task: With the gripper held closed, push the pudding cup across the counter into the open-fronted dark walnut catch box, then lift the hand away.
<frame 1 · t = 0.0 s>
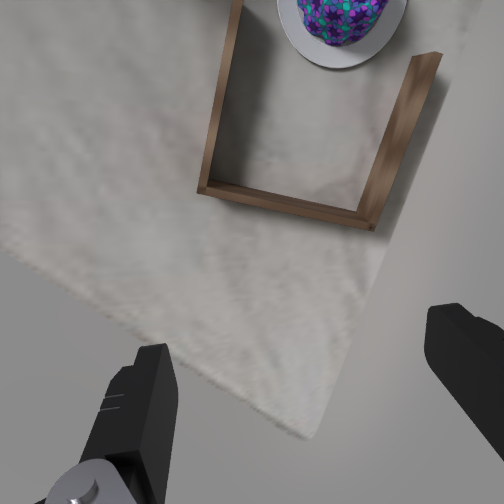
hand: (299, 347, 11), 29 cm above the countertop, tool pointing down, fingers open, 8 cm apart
catch box: (305, 119, 36), on the countertop
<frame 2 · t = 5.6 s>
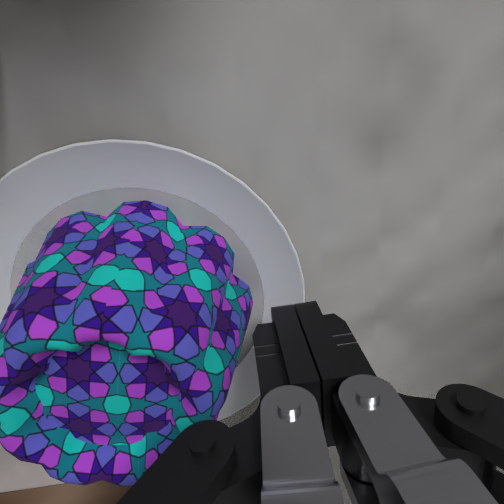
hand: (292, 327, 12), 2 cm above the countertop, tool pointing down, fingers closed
pudding: (144, 301, 14), on the countertop, touching gripper
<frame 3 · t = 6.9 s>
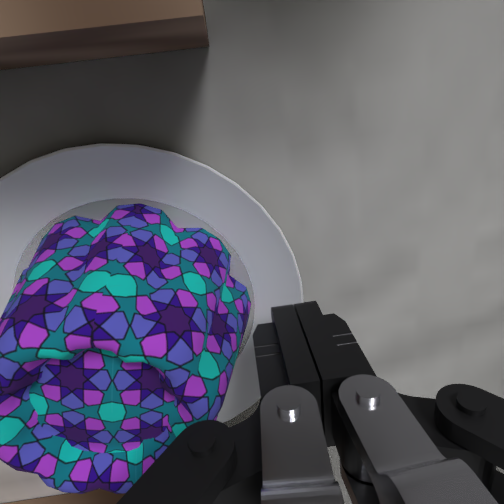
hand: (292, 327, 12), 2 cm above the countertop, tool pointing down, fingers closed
pudding: (141, 305, 14), on the countertop
catch box: (26, 337, 13), on the countertop
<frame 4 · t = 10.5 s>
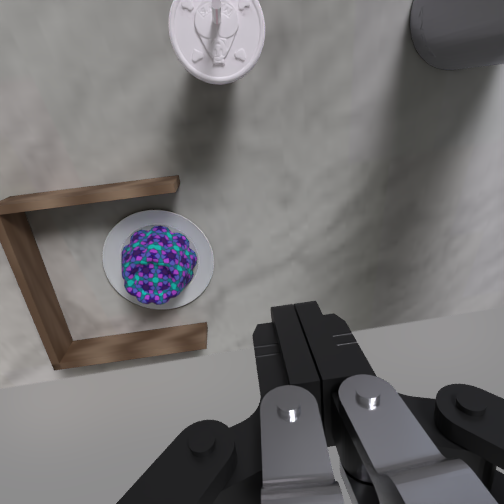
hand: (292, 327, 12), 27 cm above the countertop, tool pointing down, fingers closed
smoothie: (218, 49, 32), on the countertop
pudding: (160, 259, 40), on the countertop
catch box: (122, 268, 40), on the countertop
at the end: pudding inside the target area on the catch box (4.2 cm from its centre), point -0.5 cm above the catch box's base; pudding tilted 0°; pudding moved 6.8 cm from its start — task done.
